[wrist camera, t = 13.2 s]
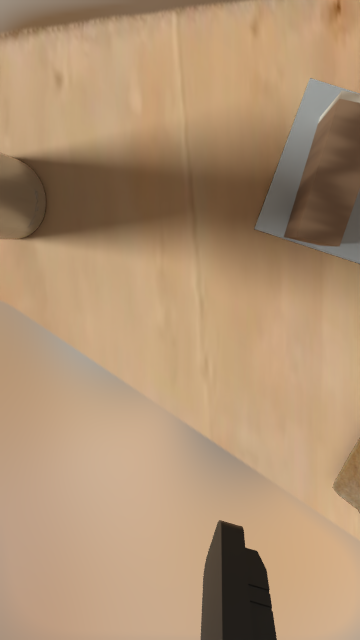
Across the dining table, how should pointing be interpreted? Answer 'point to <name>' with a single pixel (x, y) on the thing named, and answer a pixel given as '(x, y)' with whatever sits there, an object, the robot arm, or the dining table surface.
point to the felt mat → (283, 189)
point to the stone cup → (350, 479)
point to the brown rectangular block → (329, 176)
